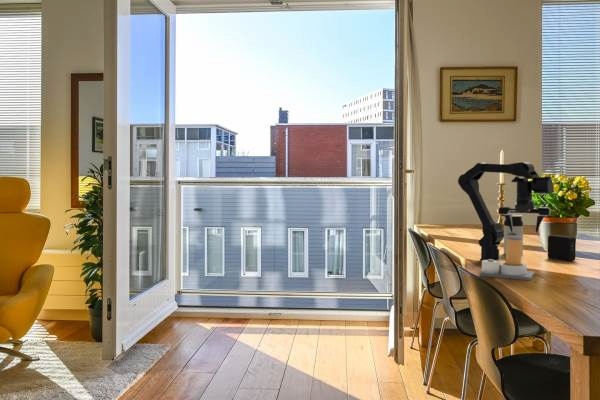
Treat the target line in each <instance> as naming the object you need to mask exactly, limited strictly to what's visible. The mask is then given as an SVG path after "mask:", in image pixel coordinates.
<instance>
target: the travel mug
mask: <svg viewBox="0 0 600 400" xmlns="http://www.w3.org/2000/svg"><path fill="white" fill-rule="evenodd" d="M522 218H523V214H512V224H513V231H512V232H511V230H510V227H509V224H508V221H507V219H506V218H505V219H504V222H503V230H504V238H503V254H504V255H506V247H507V236H509V235H512V236H521V237H522V251H521V256H522V255H523V254H524V253H523V252H524V248H523V247H524V246H523V245H524V222H523V220H522Z"/></svg>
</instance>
